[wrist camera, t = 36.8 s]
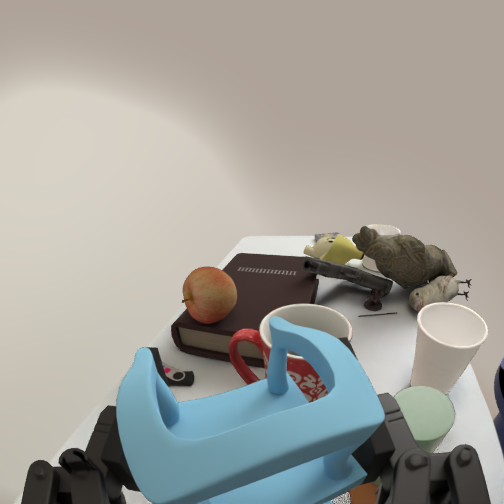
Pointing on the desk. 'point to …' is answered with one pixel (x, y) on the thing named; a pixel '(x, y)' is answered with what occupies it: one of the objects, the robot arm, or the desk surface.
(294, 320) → the mug
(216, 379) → the desk surface
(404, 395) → the canister
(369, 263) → the mug
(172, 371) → the usb flash drive
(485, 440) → the desk surface
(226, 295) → the apple
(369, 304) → the figurine
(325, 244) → the toy
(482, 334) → the cup
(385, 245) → the statue
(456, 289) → the decorative bird
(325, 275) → the handgun
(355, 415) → the chair
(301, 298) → the book
